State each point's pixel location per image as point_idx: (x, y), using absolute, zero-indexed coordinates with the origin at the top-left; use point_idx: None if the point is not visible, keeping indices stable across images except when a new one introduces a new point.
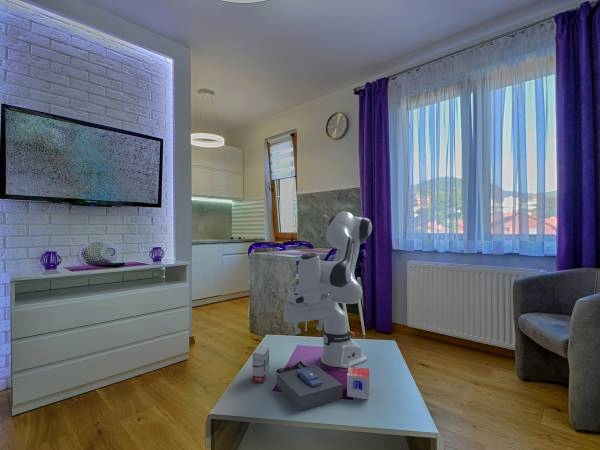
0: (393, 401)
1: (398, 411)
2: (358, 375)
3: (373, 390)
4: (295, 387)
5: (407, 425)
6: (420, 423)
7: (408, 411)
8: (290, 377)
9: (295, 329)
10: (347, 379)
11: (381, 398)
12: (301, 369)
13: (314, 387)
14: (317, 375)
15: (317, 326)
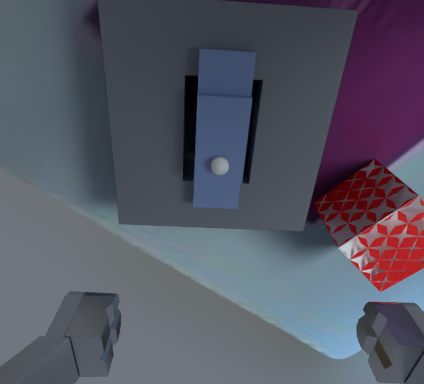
0: None
1: (355, 305)
2: (369, 267)
3: None
4: (131, 167)
5: (320, 337)
6: (348, 343)
7: None
8: (150, 76)
9: (51, 326)
10: (333, 237)
11: None
12: (231, 55)
13: None
14: (276, 127)
15: (383, 348)
